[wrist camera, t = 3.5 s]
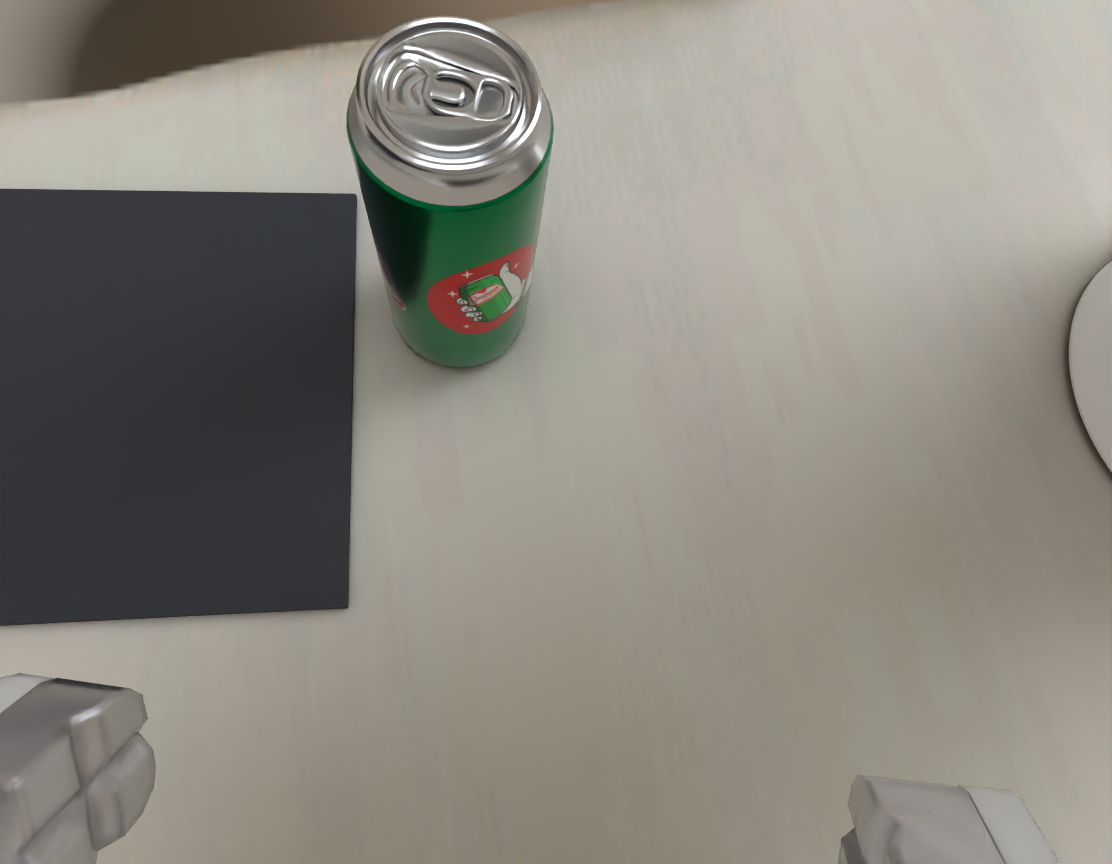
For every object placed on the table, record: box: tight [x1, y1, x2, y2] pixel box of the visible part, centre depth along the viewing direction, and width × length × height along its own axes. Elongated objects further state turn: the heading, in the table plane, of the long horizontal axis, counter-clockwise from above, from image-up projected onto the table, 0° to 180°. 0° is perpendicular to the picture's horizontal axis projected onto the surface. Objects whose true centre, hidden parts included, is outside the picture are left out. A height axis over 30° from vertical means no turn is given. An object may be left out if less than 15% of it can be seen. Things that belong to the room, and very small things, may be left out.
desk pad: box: [0, 189, 357, 626], centre depth 26 cm, size 20×16×1 cm
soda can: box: [347, 16, 554, 367], centre depth 23 cm, size 5×5×12 cm
